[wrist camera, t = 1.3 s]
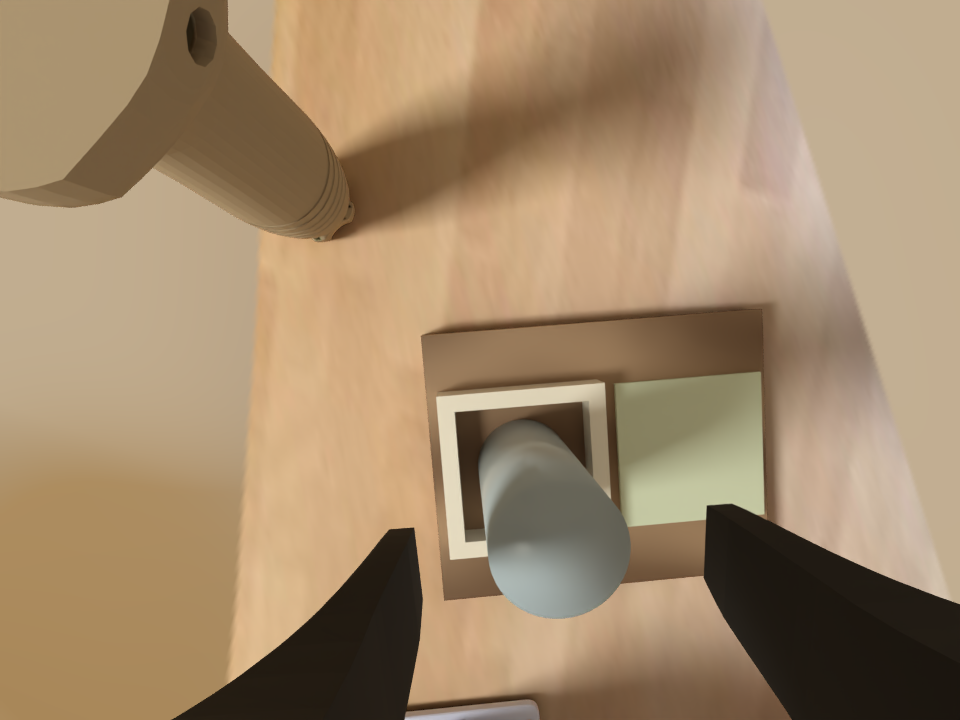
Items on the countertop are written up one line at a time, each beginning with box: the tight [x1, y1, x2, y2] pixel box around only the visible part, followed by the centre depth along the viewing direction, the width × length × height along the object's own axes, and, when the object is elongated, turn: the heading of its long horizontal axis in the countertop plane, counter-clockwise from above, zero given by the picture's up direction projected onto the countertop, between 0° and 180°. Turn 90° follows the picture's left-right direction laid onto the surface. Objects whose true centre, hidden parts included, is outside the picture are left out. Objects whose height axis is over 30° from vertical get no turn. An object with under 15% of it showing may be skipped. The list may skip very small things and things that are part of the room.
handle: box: [0, 0, 355, 242], centre depth 14 cm, size 5×6×15 cm
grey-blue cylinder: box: [478, 419, 631, 619], centre depth 17 cm, size 4×4×8 cm
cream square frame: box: [436, 379, 611, 560], centre depth 21 cm, size 7×7×1 cm
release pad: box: [614, 372, 764, 527], centre depth 21 cm, size 6×6×1 cm
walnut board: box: [421, 309, 767, 601], centre depth 22 cm, size 12×15×1 cm
